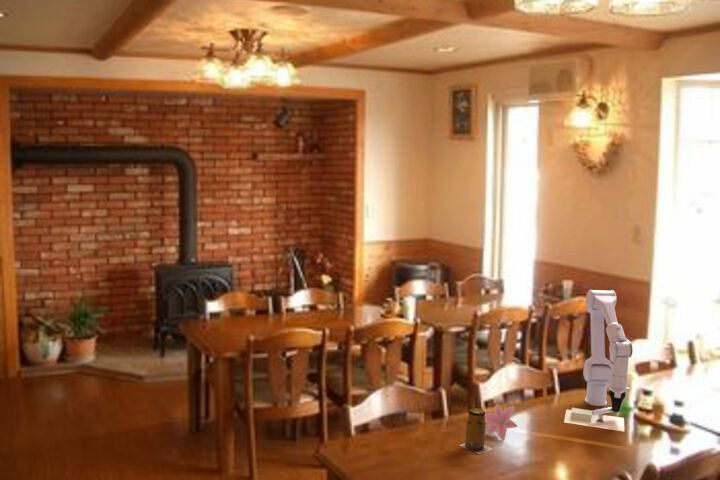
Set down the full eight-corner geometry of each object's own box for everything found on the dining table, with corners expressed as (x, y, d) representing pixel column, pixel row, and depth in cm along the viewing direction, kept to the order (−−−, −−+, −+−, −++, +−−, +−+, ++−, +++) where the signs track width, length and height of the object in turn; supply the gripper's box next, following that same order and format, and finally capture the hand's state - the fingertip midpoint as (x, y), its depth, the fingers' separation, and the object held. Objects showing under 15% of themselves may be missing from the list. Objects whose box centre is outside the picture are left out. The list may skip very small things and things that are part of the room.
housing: (566, 412, 270) (566, 409, 270) (623, 420, 264) (623, 417, 264) (563, 425, 257) (564, 422, 257) (624, 434, 251) (624, 431, 251)
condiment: (474, 440, 240) (476, 405, 238) (494, 449, 233) (496, 413, 232) (458, 445, 235) (460, 409, 234) (478, 455, 229) (481, 418, 227)
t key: (590, 421, 258) (591, 410, 258) (614, 416, 264) (615, 405, 264) (593, 422, 257) (594, 411, 257) (617, 418, 263) (618, 407, 262)
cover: (571, 414, 265) (571, 407, 265) (591, 417, 263) (592, 410, 263) (570, 418, 261) (571, 412, 260) (591, 422, 258) (591, 415, 258)
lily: (478, 430, 252) (474, 411, 247) (506, 414, 255) (503, 395, 250) (498, 453, 242) (495, 433, 237) (527, 436, 245) (525, 417, 240)
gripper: (631, 381, 251) (628, 419, 253) (630, 370, 265) (627, 407, 266) (609, 378, 253) (606, 416, 255) (609, 368, 267) (606, 404, 268)
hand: (615, 411), depth 261 cm, fingers closed, pressing on t key
